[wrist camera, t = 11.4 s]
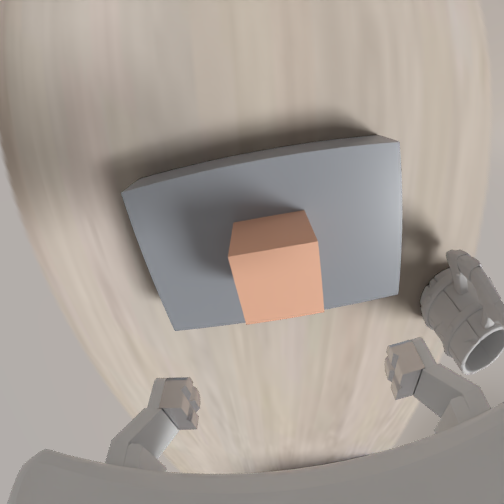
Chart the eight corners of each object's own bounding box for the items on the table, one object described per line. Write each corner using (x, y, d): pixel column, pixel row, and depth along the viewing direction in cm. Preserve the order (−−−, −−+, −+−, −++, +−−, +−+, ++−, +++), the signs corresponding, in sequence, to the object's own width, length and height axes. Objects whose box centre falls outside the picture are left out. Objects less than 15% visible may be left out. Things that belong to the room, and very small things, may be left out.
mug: (418, 328, 31) (458, 405, 21) (411, 246, 26) (477, 325, 16) (468, 305, 30) (516, 371, 19) (470, 222, 25) (543, 284, 14)
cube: (233, 222, 21) (227, 256, 17) (304, 210, 21) (317, 241, 16) (247, 282, 23) (246, 324, 19) (311, 271, 23) (324, 311, 19)
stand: (139, 178, 24) (120, 192, 20) (378, 135, 22) (399, 141, 18) (182, 304, 30) (174, 330, 26) (383, 270, 28) (398, 294, 24)
